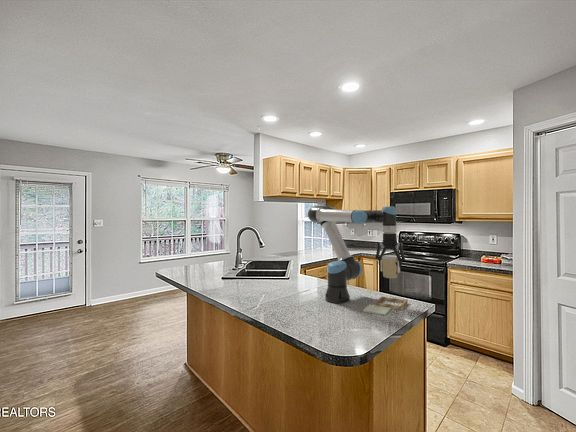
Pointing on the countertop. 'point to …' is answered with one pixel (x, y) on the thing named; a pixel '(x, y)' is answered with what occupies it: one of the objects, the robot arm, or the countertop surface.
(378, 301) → the oak frame
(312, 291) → the countertop surface
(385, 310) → the sage tile
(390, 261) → the coffee cup
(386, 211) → the robot arm
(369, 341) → the countertop surface
